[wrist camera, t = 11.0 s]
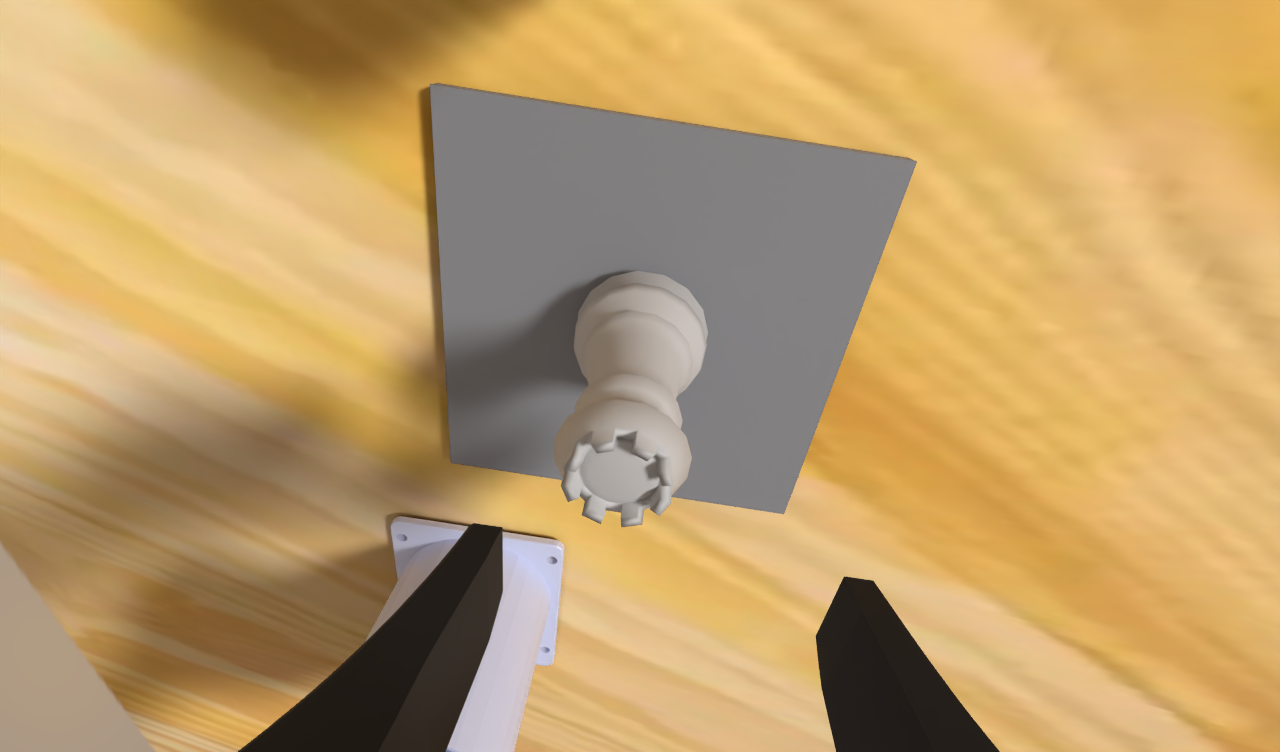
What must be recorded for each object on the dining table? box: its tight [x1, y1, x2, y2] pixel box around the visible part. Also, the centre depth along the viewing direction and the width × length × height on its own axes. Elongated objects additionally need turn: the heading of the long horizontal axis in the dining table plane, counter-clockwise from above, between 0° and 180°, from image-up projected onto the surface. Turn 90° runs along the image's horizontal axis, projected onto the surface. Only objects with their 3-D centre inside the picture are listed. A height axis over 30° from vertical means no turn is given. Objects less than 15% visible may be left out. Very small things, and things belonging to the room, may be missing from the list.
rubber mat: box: [430, 83, 917, 514], centre depth 19 cm, size 14×14×1 cm
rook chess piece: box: [553, 271, 708, 527], centre depth 15 cm, size 4×4×8 cm
